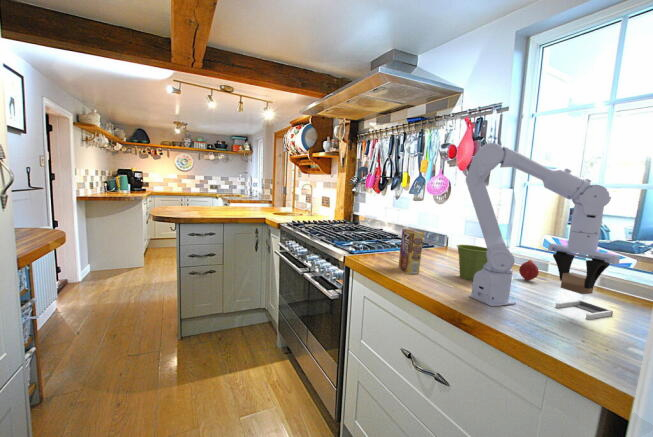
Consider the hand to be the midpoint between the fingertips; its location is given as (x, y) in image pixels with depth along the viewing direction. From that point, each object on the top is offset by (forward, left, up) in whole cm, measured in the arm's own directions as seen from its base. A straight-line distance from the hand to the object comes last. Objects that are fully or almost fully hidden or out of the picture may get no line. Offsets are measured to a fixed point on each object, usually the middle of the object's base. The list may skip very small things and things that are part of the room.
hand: (575, 284), depth 76 cm
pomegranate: (+20, +25, -9) cm, 33 cm away
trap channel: (+7, +1, -8) cm, 11 cm away
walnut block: (+1, 0, -2) cm, 2 cm away
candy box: (-19, +43, -9) cm, 48 cm away
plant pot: (-1, +31, -9) cm, 32 cm away
